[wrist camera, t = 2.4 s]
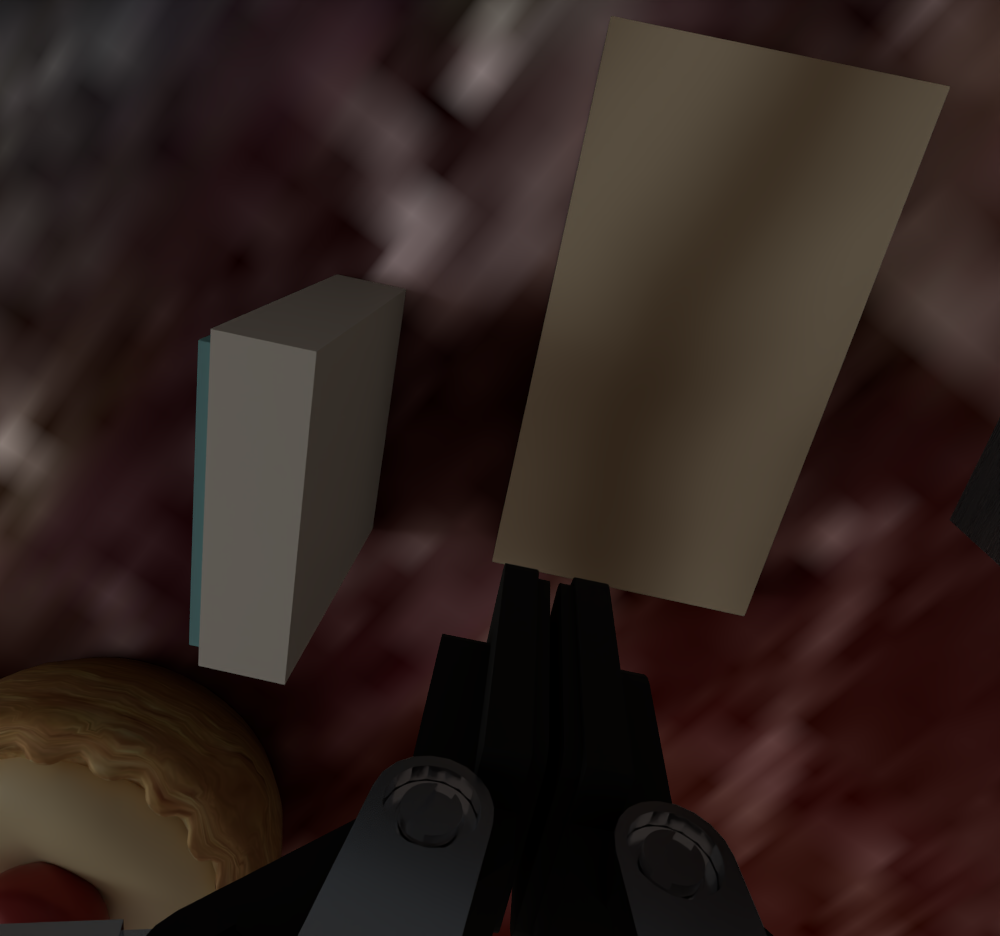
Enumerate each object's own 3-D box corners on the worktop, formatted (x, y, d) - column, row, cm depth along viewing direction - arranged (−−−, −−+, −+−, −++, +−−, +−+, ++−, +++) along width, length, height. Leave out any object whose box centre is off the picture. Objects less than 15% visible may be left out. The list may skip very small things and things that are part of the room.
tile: (406, 289, 18) (316, 351, 12) (372, 528, 21) (284, 684, 15) (326, 271, 18) (193, 325, 12) (302, 513, 21) (184, 662, 15)
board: (923, 92, 16) (949, 87, 15) (734, 592, 21) (744, 616, 20) (608, 26, 16) (611, 15, 15) (496, 540, 21) (492, 561, 20)
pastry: (340, 872, 28) (253, 1176, 19) (53, 880, 29) (-142, 1169, 21) (260, 609, 23) (99, 867, 15) (-81, 633, 24) (-402, 882, 16)
